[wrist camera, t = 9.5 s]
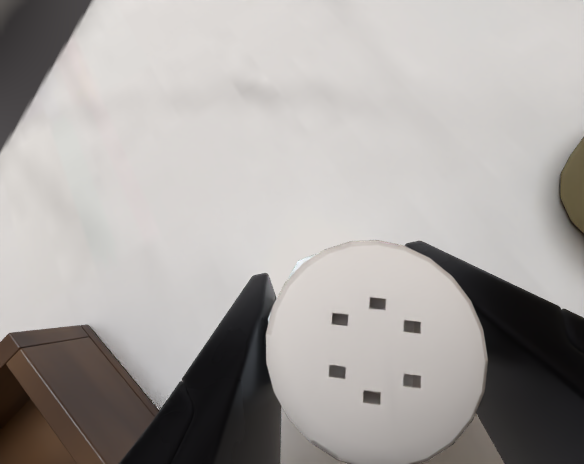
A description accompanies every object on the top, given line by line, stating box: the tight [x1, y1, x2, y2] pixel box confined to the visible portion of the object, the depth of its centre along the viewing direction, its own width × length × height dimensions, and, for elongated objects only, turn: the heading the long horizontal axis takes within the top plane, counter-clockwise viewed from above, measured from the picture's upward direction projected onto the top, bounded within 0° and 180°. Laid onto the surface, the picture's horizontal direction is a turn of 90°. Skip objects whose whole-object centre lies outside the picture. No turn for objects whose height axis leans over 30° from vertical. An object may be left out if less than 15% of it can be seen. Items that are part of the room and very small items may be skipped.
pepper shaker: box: [266, 240, 488, 464], centre depth 9 cm, size 5×5×11 cm
